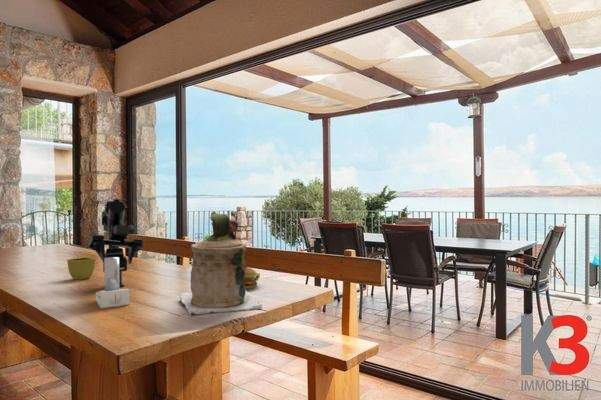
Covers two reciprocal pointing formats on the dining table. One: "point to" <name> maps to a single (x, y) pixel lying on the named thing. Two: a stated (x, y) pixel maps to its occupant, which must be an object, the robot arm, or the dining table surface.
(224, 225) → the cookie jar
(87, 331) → the dining table surface
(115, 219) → the robot arm
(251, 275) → the food
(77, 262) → the flower pot
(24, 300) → the dining table surface
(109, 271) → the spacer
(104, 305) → the scale
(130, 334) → the dining table surface
